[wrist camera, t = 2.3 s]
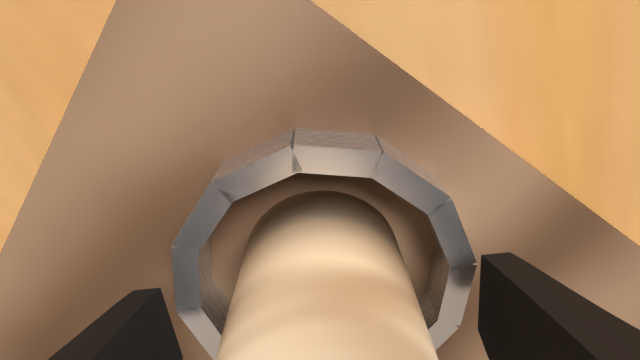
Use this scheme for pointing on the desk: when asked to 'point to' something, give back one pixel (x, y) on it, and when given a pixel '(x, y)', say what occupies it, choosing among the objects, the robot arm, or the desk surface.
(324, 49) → the walnut board
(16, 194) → the desk surface
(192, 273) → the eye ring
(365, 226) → the beech pin
